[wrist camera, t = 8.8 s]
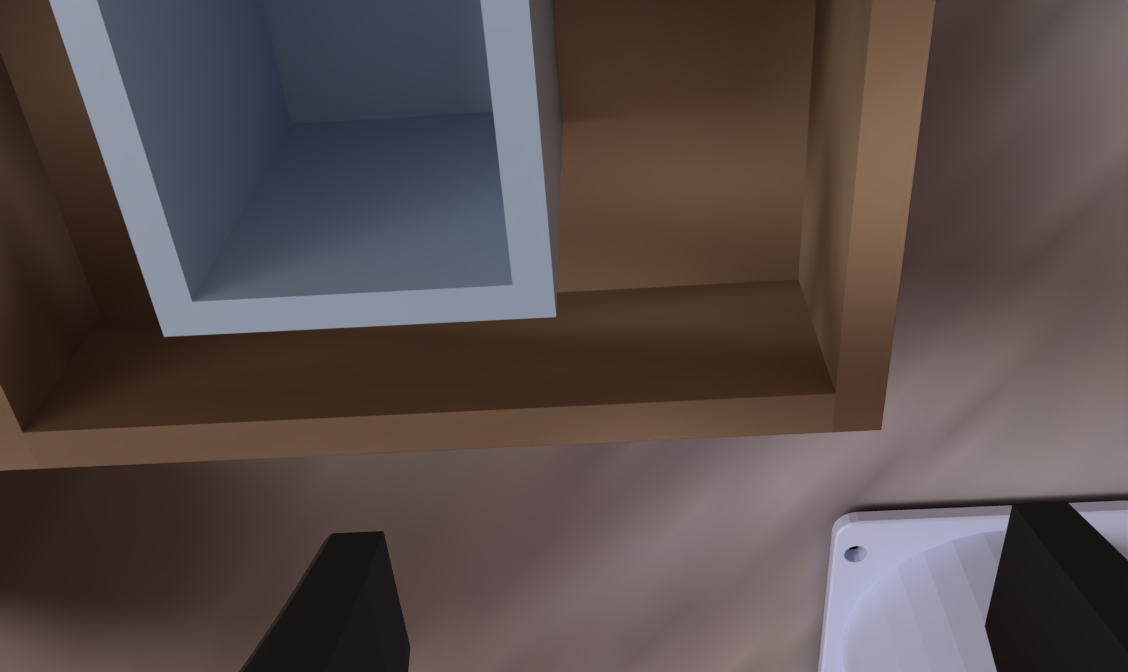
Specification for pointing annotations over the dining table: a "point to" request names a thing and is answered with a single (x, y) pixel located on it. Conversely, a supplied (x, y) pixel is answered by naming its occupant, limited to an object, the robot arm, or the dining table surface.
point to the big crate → (585, 260)
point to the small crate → (328, 156)
